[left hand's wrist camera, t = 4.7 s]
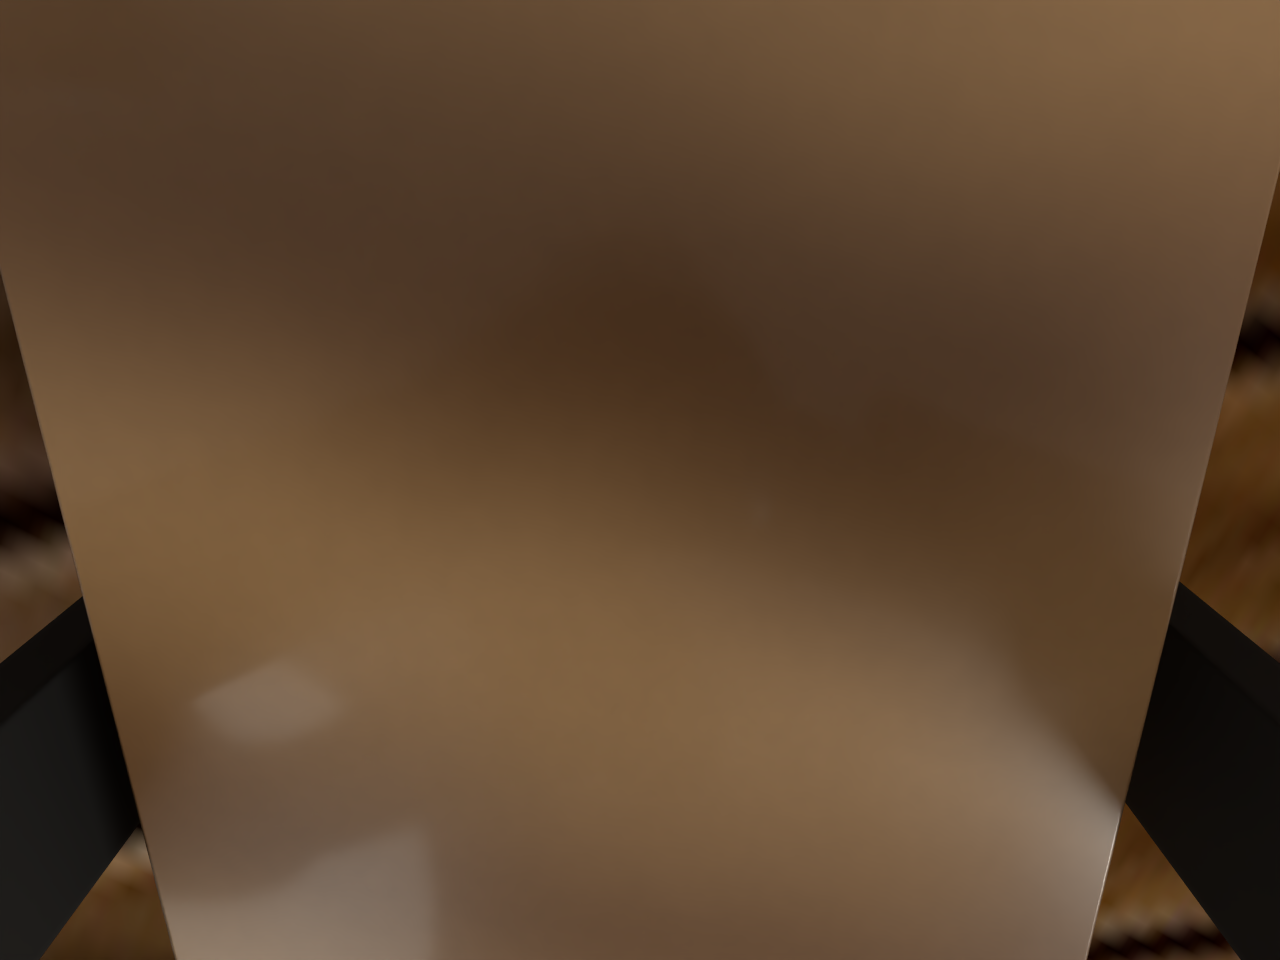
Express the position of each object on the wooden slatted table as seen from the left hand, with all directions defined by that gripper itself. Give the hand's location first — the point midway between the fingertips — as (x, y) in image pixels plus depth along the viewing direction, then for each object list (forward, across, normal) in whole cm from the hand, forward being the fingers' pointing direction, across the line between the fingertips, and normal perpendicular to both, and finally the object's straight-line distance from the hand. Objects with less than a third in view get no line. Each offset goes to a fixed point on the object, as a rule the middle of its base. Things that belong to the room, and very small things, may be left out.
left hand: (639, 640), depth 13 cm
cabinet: (+7, 0, -6) cm, 9 cm away
